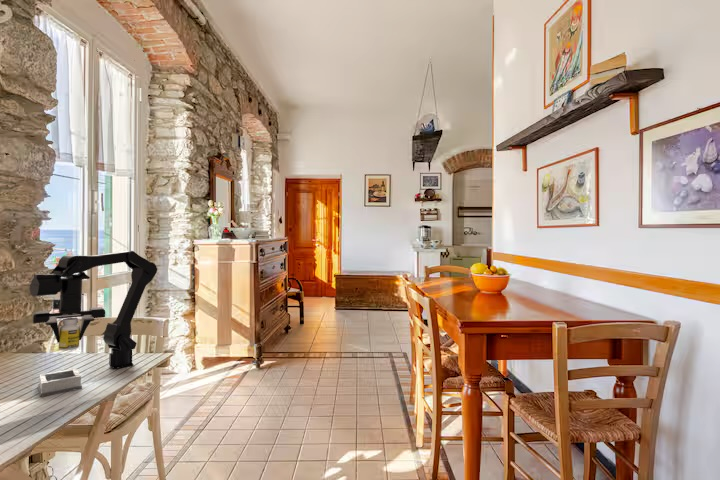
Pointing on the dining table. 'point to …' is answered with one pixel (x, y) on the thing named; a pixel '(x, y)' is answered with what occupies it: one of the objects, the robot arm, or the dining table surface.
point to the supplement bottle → (69, 334)
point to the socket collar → (59, 382)
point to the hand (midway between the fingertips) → (69, 341)
